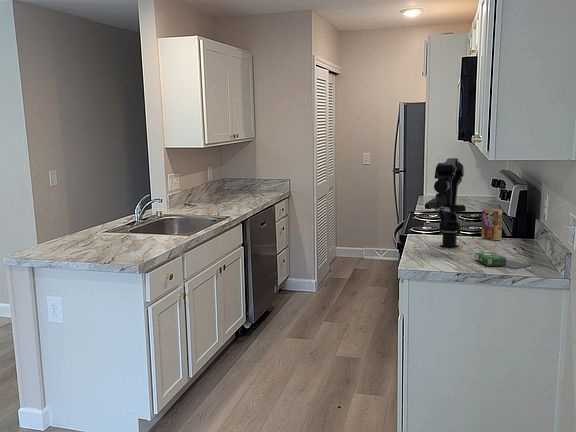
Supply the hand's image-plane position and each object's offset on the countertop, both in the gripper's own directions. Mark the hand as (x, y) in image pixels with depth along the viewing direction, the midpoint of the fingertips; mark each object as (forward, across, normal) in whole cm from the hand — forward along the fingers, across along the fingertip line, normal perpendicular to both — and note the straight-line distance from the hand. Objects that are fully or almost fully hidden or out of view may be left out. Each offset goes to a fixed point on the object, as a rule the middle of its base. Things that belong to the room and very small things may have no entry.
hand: (444, 226), depth 239 cm
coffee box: (+10, +19, +3) cm, 22 cm away
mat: (+12, +30, +4) cm, 33 cm away
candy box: (+12, -8, +44) cm, 46 cm away
